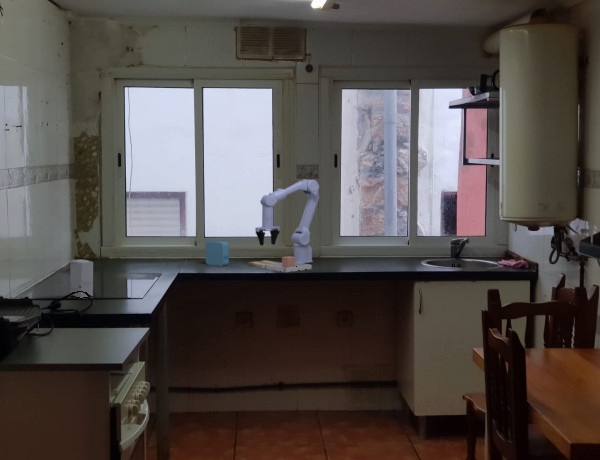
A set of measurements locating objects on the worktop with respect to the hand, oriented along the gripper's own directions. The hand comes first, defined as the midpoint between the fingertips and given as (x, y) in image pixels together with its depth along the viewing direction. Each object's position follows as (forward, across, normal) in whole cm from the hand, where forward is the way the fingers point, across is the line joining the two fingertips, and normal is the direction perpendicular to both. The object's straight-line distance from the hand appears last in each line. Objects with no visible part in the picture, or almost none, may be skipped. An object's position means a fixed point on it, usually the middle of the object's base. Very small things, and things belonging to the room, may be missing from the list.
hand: (267, 244), depth 398 cm
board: (+11, +2, 0) cm, 11 cm away
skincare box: (+13, +111, +18) cm, 113 cm away
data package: (+11, +18, -18) cm, 28 cm away
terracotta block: (+10, 0, +17) cm, 20 cm away
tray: (+10, 0, +17) cm, 20 cm away
